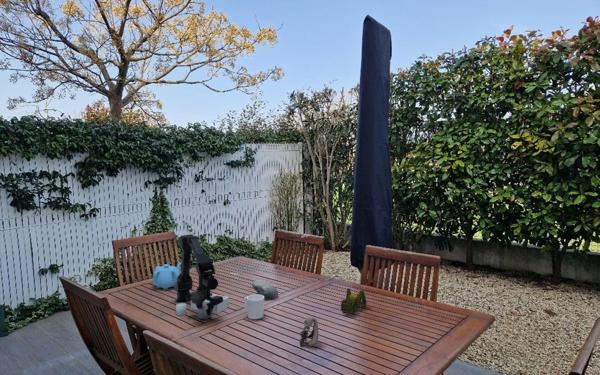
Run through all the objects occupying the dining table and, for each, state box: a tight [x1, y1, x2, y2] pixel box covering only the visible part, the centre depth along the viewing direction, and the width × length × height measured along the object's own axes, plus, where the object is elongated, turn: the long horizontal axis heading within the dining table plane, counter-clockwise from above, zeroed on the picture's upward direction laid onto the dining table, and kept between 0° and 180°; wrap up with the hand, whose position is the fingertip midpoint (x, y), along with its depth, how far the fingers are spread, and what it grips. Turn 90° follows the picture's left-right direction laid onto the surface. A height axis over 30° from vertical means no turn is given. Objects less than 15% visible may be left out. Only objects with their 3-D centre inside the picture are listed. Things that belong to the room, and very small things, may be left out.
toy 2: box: [340, 287, 368, 315], centre depth 205 cm, size 10×24×10 cm, turn 152°
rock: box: [251, 279, 279, 300], centre depth 225 cm, size 11×17×10 cm, turn 51°
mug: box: [243, 293, 265, 321], centre depth 194 cm, size 11×9×10 cm
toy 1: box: [299, 314, 319, 348], centre depth 164 cm, size 8×8×14 cm
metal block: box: [197, 305, 213, 320], centre depth 193 cm, size 5×5×5 cm
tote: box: [190, 293, 230, 315], centre depth 207 cm, size 17×11×6 cm, turn 67°
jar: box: [175, 302, 187, 317], centre depth 199 cm, size 5×5×5 cm
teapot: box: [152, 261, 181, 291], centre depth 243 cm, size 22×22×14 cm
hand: (205, 314), depth 193 cm, fingers closed on metal block, 5 cm apart
